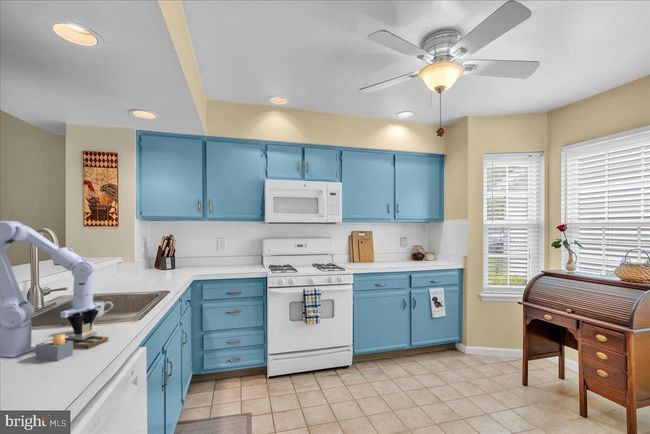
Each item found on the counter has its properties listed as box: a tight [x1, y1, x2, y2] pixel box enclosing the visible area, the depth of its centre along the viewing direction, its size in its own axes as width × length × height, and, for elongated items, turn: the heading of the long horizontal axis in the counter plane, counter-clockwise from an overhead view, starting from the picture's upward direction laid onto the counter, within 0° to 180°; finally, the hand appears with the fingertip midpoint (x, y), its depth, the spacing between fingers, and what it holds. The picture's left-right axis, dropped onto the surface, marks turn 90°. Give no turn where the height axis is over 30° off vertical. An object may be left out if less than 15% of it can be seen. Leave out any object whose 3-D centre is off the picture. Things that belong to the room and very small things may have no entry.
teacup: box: [93, 300, 114, 321], centre depth 144 cm, size 14×11×8 cm
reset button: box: [52, 333, 66, 346], centre depth 103 cm, size 3×3×5 cm
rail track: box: [65, 335, 109, 350], centre depth 115 cm, size 14×8×2 cm, turn 79°
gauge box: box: [35, 338, 74, 362], centre depth 104 cm, size 8×5×5 cm, turn 79°
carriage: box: [67, 322, 98, 340], centre depth 115 cm, size 6×6×4 cm
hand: (82, 332), depth 115 cm, fingers closed on carriage, 3 cm apart
